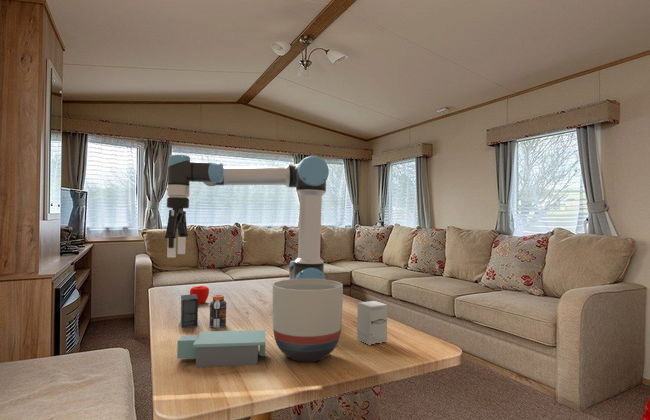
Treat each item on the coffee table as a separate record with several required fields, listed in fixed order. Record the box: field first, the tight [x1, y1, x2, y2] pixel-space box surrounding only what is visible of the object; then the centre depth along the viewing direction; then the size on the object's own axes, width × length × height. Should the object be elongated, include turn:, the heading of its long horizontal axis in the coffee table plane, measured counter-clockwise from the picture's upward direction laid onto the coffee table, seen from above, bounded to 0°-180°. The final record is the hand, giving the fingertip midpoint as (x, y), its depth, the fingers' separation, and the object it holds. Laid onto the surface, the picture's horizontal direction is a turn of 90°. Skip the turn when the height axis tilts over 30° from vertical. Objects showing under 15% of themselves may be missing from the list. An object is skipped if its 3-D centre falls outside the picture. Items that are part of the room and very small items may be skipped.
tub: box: [195, 345, 260, 368], centre depth 106 cm, size 16×11×6 cm
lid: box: [176, 329, 267, 360], centre depth 106 cm, size 24×12×5 cm, turn 98°
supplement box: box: [356, 300, 388, 346], centre depth 126 cm, size 7×7×13 cm
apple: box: [189, 285, 210, 305], centre depth 180 cm, size 9×9×8 cm
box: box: [180, 294, 199, 329], centre depth 143 cm, size 8×6×11 cm
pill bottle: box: [209, 294, 227, 329], centre depth 142 cm, size 6×6×11 cm
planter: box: [272, 278, 344, 363], centre depth 110 cm, size 20×20×21 cm
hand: (176, 255), depth 137 cm, fingers open, 13 cm apart
